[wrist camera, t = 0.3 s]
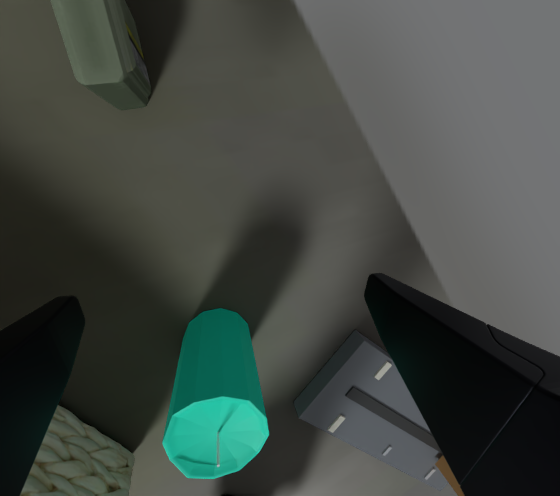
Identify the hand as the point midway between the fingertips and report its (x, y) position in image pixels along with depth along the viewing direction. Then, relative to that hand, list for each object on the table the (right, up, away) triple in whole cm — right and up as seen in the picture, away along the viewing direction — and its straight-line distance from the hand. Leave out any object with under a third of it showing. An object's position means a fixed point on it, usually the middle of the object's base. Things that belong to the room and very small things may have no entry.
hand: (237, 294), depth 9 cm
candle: (-4, -7, +17) cm, 19 cm away
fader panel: (+15, -17, +24) cm, 34 cm away
